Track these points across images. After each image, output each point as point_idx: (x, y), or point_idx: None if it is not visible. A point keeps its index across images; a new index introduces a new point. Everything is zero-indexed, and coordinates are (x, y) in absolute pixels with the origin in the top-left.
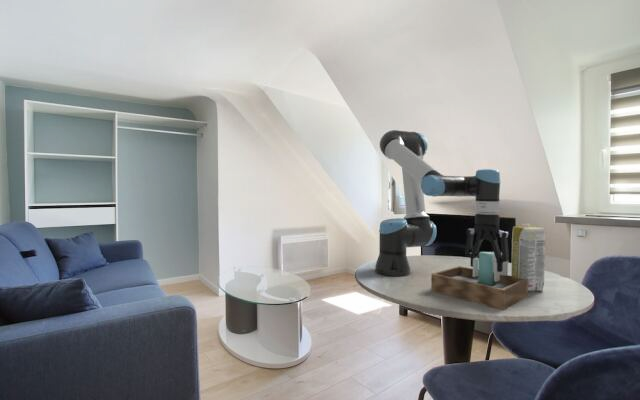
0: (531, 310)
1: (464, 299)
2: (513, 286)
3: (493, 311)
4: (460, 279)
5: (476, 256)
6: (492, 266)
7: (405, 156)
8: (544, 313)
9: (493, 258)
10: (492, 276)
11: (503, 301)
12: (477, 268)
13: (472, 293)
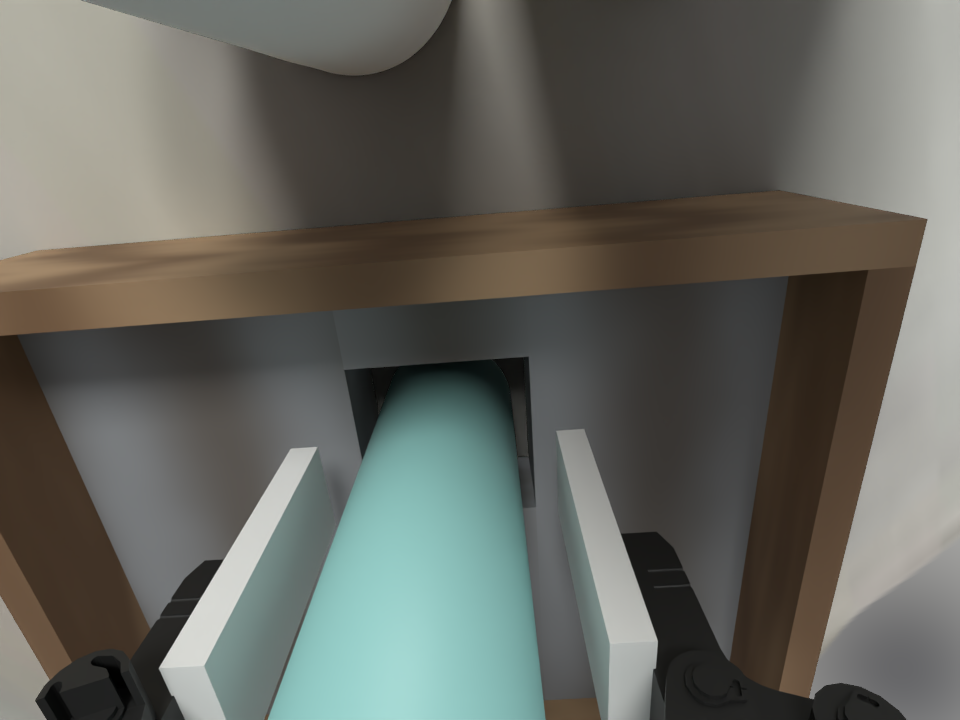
0: (863, 522)
1: None
2: (817, 636)
3: None
4: (199, 497)
5: (140, 697)
6: (534, 617)
7: None
8: (945, 511)
9: (145, 12)
10: (521, 498)
11: None
12: (288, 537)
13: None
